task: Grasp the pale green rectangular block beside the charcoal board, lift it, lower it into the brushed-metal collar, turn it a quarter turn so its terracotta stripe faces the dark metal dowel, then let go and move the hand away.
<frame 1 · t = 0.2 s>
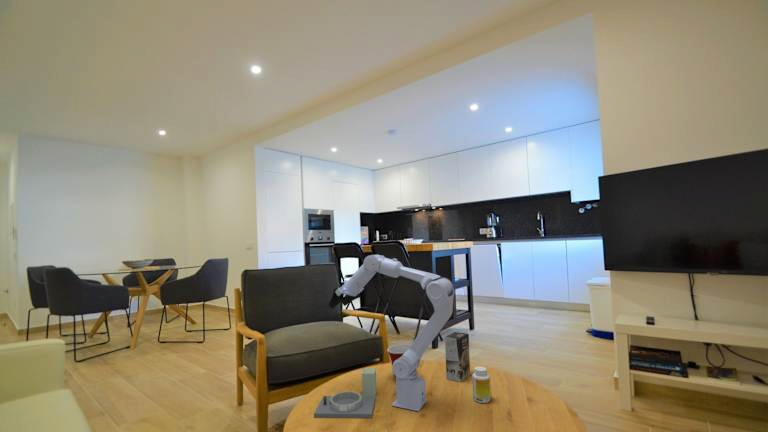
hand: (336, 305, 130), 31 cm above the table, tool tilted 45°, fingers open, 7 cm apart
supplement bottle: (482, 400, 116), on the table
plastic cup: (401, 379, 136), on the table
collar: (342, 400, 113), on the base board, point 2 cm above the table
coffee box: (458, 377, 136), on the table
pale green rectangular block: (369, 394, 123), on the table
base board: (346, 408, 113), on the table
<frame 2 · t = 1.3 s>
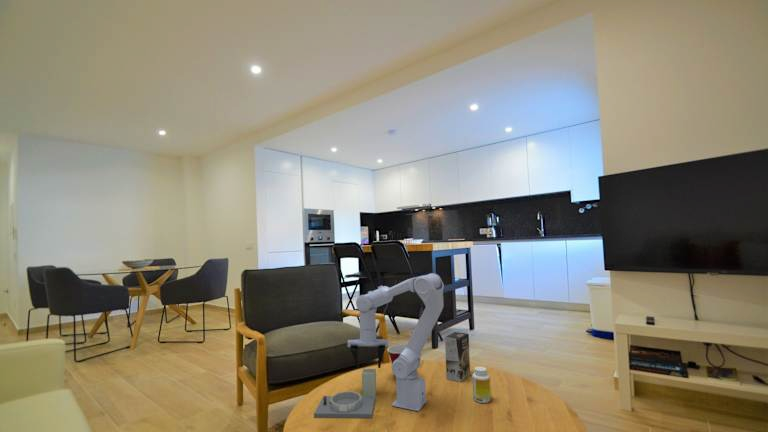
hand: (368, 367, 123), 9 cm above the table, tool pointing down, fingers open, 7 cm apart
nothing on the table moved.
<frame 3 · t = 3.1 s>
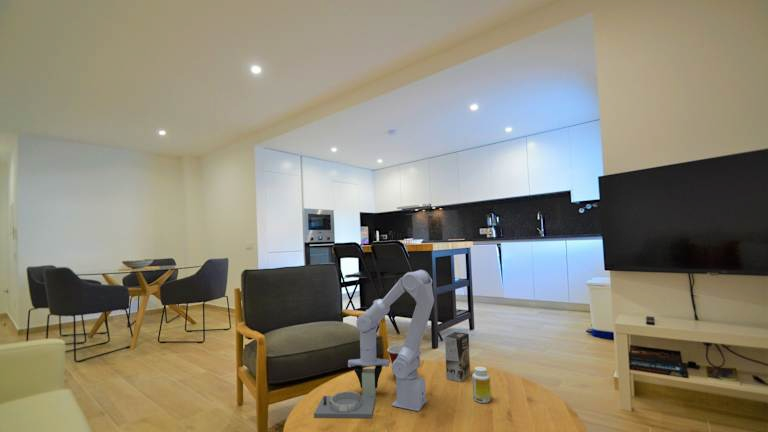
hand: (369, 387, 123), 2 cm above the table, tool pointing down, fingers closed on pale green rectangular block, 4 cm apart
pale green rectangular block: (369, 394, 123), on the table, touching gripper
everything else where it was.
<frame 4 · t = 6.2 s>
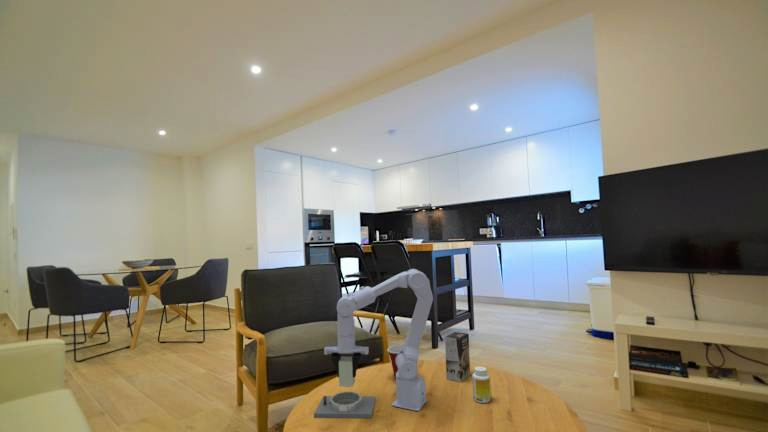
hand: (346, 376, 114), 10 cm above the table, tool pointing down, fingers closed on pale green rectangular block, 4 cm apart
pale green rectangular block: (347, 383, 114), point 7 cm above the table, touching gripper
everything else where it was.
when the fingers open (4 cm above the table, at t = 9.7 s): pale green rectangular block stays where it is, resting on base board.
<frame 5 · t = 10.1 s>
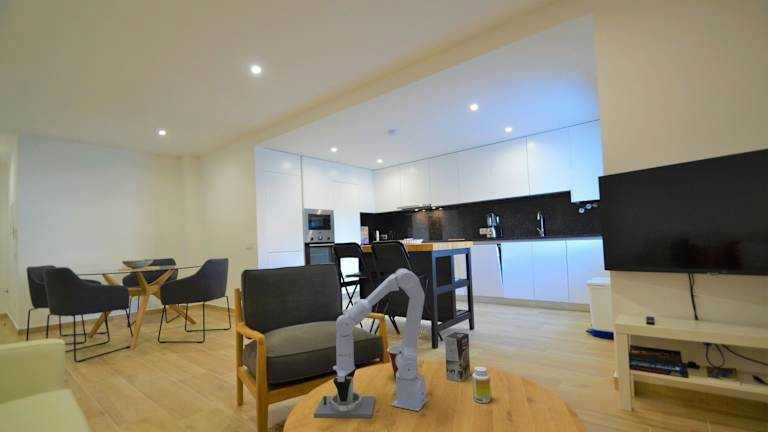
hand: (345, 395, 113), 4 cm above the table, tool pointing down, fingers open, 7 cm apart
pale green rectangular block: (345, 404, 113), point 1 cm above the table, touching base board
everything else where it was.
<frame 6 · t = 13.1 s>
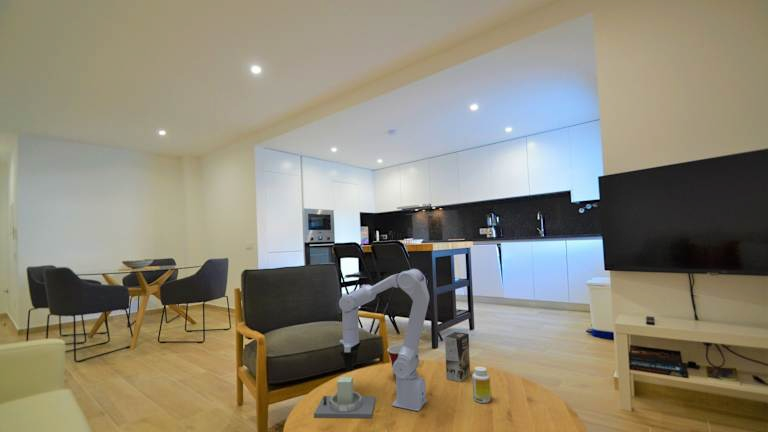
hand: (351, 366, 124), 9 cm above the table, tool pointing down, fingers open, 7 cm apart
nothing on the table moved.
at the end: pale green rectangular block 0.1 cm from the collar (horizontally); pale green rectangular block tilted 0°; the gripper is holding nothing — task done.
